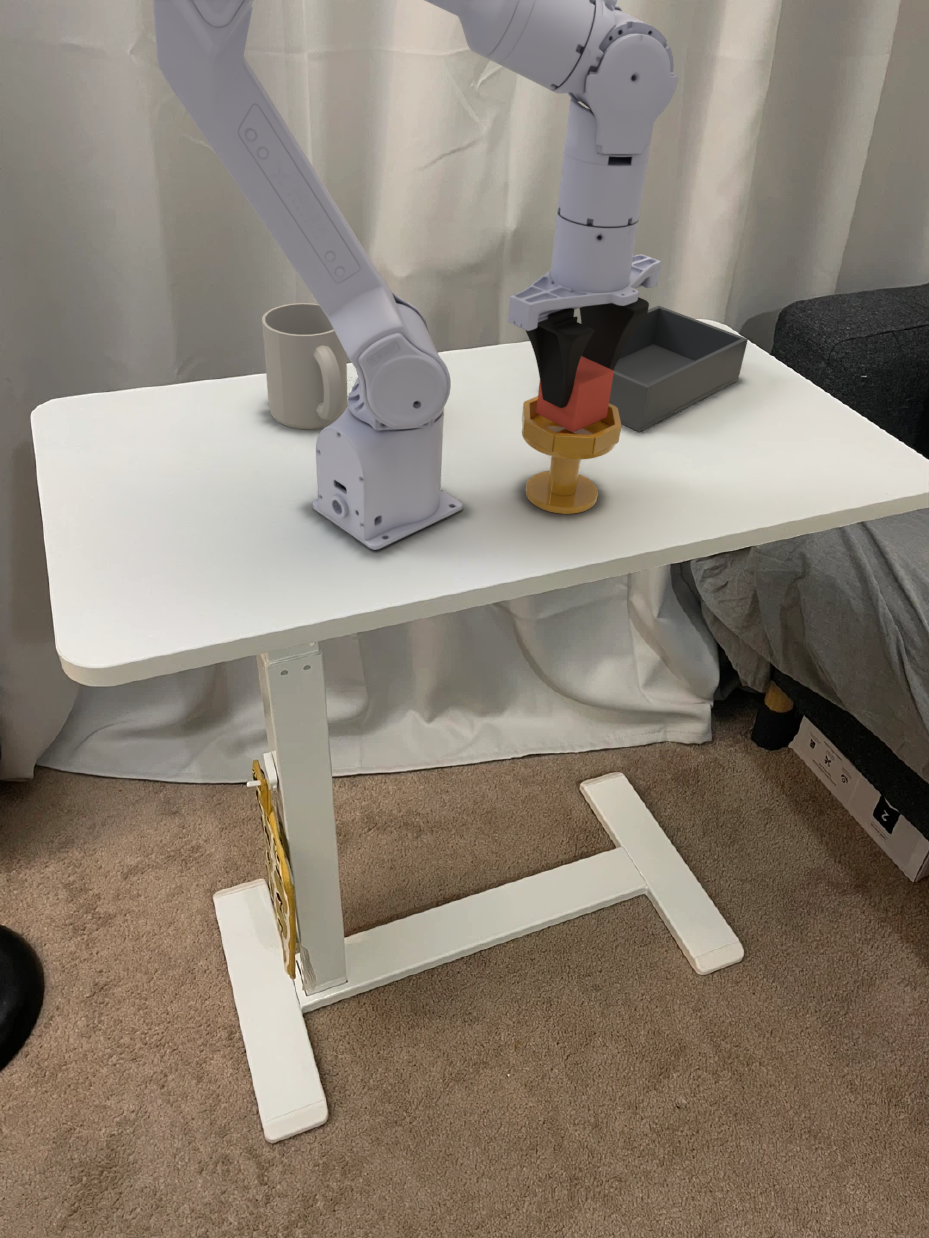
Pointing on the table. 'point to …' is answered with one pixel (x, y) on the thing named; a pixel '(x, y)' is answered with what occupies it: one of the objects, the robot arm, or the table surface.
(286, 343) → the cup
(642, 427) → the bin
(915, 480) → the table surface
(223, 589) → the table surface
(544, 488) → the bowl
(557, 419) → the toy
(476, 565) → the table surface
